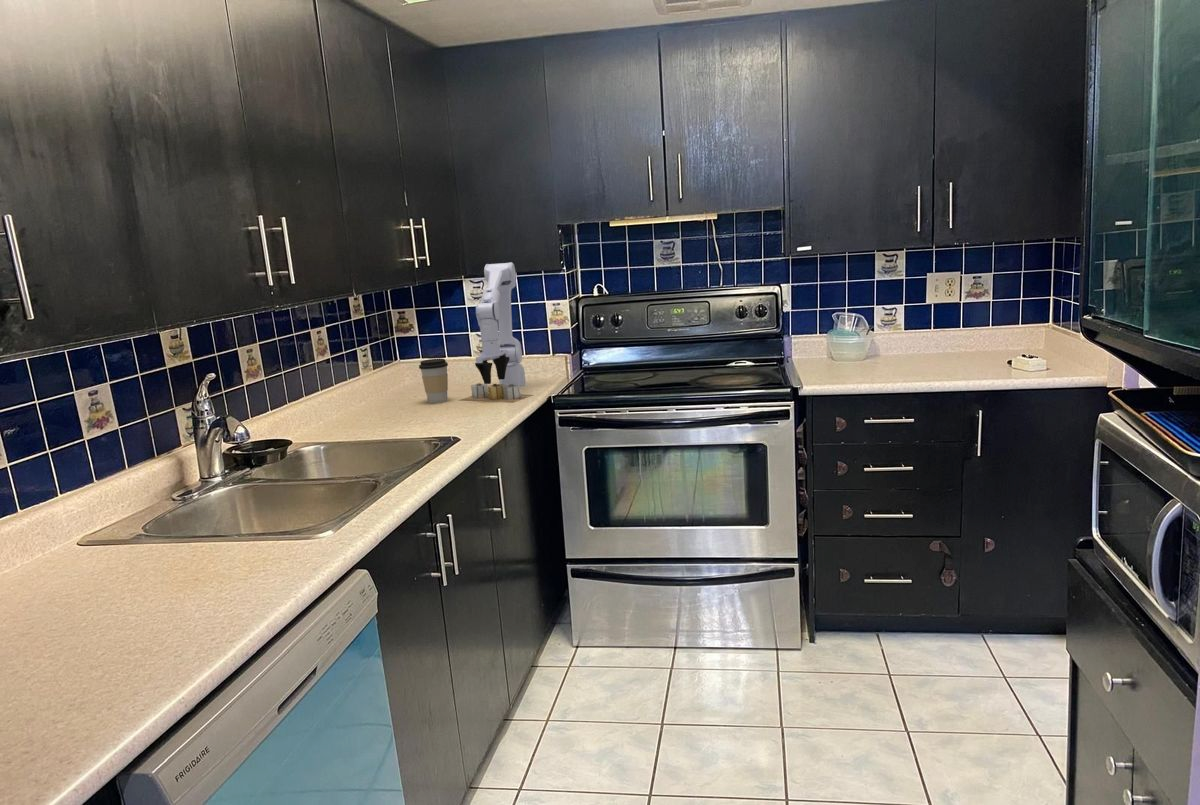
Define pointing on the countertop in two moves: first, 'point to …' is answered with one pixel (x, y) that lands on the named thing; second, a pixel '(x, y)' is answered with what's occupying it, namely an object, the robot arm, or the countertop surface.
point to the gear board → (494, 399)
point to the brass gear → (496, 391)
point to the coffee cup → (435, 379)
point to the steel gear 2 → (511, 392)
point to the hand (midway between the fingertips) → (494, 381)
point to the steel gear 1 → (479, 391)
